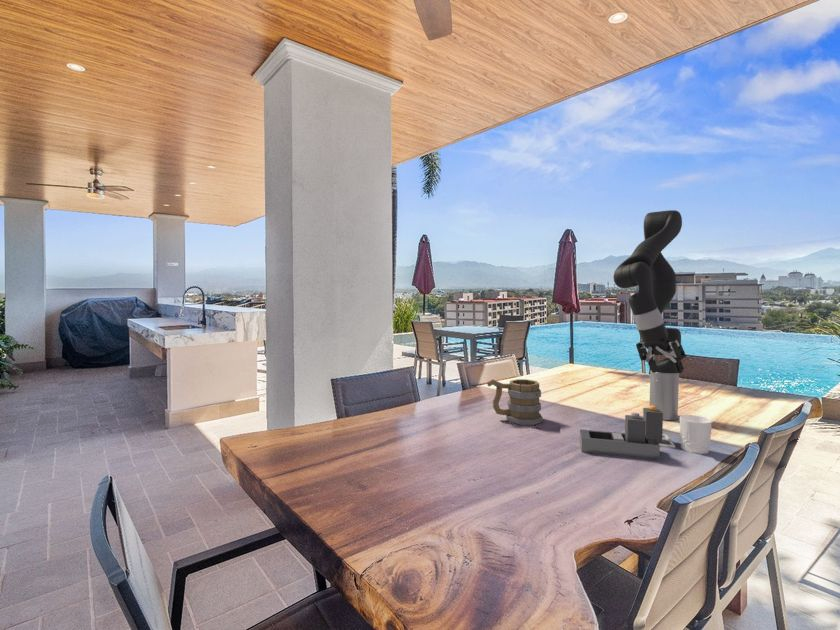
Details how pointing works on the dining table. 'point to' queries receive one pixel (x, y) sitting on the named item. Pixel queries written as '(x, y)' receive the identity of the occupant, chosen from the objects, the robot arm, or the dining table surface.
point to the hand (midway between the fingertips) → (667, 372)
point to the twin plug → (635, 428)
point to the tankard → (519, 401)
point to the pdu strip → (618, 445)
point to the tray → (668, 441)
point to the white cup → (695, 433)
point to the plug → (653, 422)
